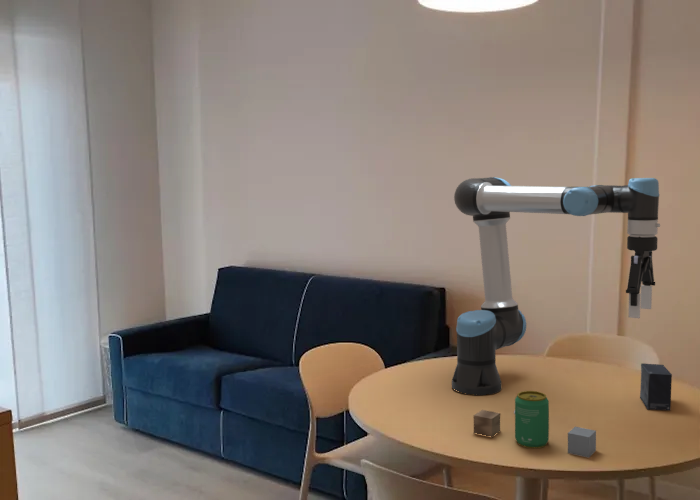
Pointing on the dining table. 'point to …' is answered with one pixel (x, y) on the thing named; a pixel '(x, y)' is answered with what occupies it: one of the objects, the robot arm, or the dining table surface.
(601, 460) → the dining table surface
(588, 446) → the slate block
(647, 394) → the small box
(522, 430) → the beverage can
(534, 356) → the dining table surface
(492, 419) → the walnut block
